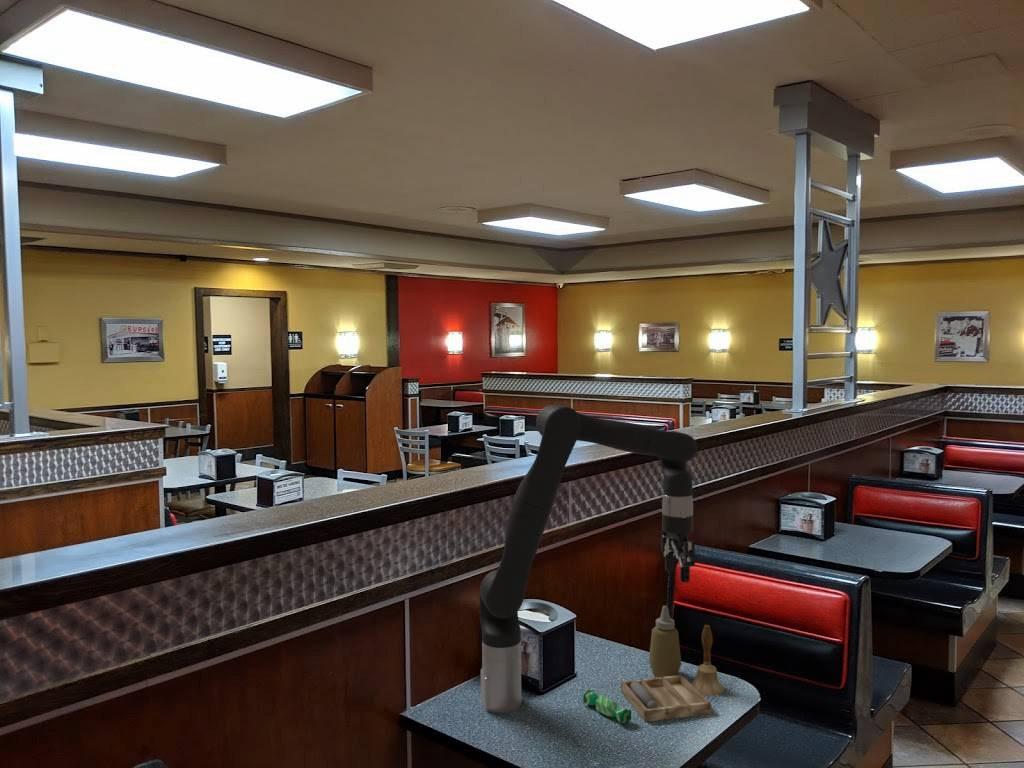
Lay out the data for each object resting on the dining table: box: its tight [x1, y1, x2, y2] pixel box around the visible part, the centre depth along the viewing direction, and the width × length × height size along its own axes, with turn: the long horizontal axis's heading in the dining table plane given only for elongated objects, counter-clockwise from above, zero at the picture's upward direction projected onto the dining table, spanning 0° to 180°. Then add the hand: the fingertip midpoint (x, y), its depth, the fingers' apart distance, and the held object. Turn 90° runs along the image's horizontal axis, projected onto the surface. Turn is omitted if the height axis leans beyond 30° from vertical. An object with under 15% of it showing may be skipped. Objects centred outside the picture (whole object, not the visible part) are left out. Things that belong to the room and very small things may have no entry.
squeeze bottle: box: [648, 605, 682, 678], centre depth 189 cm, size 8×8×18 cm
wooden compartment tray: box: [620, 674, 712, 723], centre depth 175 cm, size 16×15×2 cm
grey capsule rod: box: [631, 681, 658, 709], centre depth 174 cm, size 2×12×2 cm, turn 13°
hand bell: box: [690, 624, 725, 696], centre depth 182 cm, size 8×8×16 cm
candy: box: [582, 689, 632, 725], centre depth 170 cm, size 12×3×4 cm, turn 38°
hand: (677, 576), depth 186 cm, fingers open, 8 cm apart
